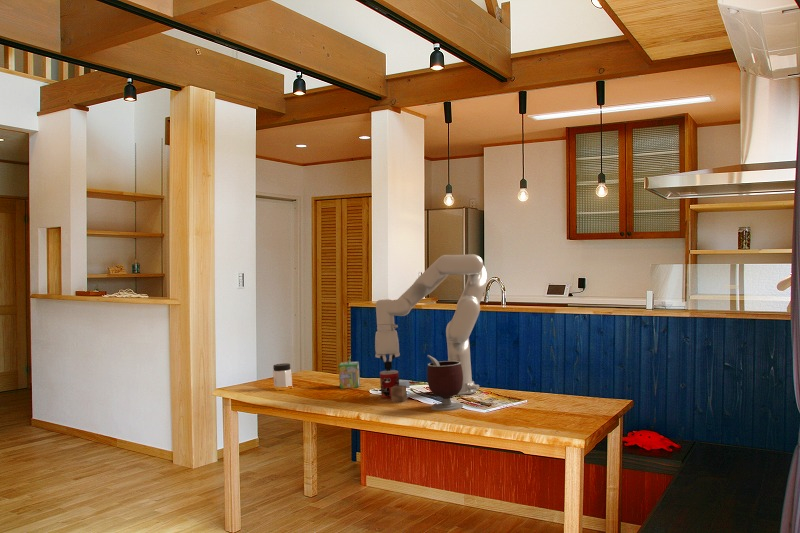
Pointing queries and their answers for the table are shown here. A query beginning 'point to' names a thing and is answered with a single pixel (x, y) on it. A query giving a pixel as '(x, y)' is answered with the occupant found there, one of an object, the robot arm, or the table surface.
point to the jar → (282, 375)
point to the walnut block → (398, 393)
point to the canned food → (388, 382)
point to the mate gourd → (445, 382)
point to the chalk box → (349, 374)
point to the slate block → (404, 383)
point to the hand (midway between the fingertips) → (388, 370)
